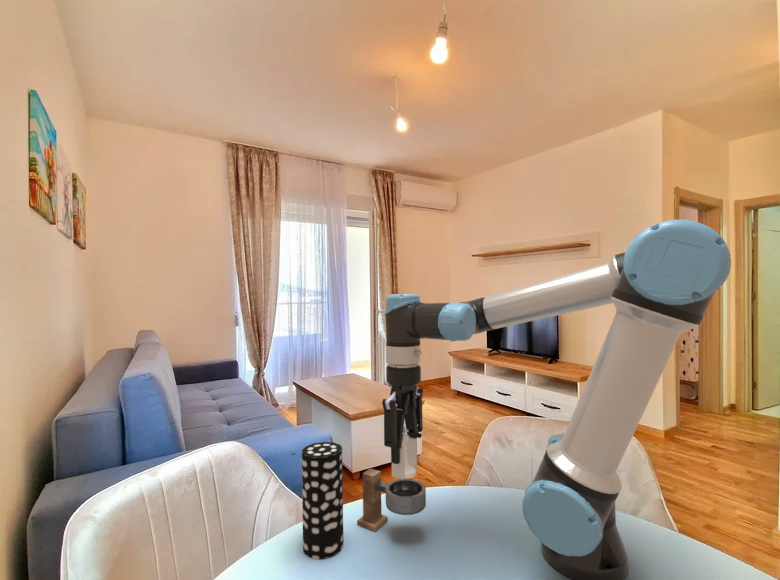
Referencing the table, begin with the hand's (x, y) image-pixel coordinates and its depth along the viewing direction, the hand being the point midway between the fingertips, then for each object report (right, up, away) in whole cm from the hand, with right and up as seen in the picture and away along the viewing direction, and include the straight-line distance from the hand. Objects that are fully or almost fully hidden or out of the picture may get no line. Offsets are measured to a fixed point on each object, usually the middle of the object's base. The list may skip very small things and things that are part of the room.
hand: (404, 471), depth 84 cm
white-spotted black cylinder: (-17, -14, -3) cm, 22 cm away
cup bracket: (-2, -7, +1) cm, 7 cm away
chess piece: (0, -1, 0) cm, 1 cm away
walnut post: (-7, -14, +5) cm, 16 cm away
